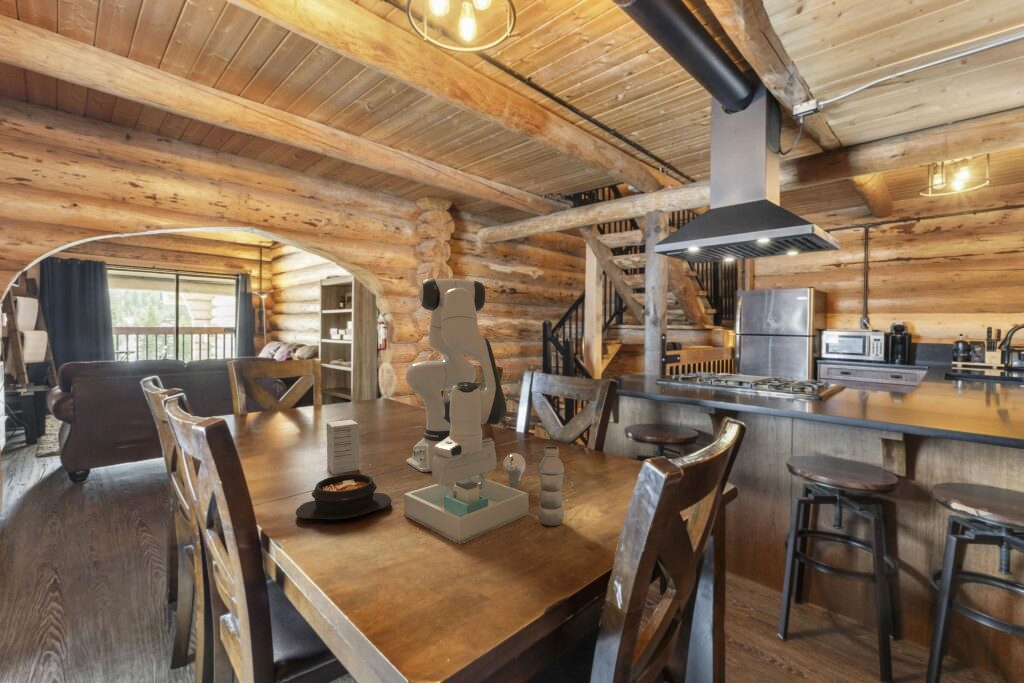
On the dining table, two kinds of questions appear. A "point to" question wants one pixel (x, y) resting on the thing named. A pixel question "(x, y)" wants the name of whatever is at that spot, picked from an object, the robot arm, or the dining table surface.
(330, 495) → the casserole
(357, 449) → the supplement box
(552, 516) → the plastic bottle
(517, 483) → the light bulb
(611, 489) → the dining table surface
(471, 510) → the walled box
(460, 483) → the grey-topped white block
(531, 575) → the dining table surface
